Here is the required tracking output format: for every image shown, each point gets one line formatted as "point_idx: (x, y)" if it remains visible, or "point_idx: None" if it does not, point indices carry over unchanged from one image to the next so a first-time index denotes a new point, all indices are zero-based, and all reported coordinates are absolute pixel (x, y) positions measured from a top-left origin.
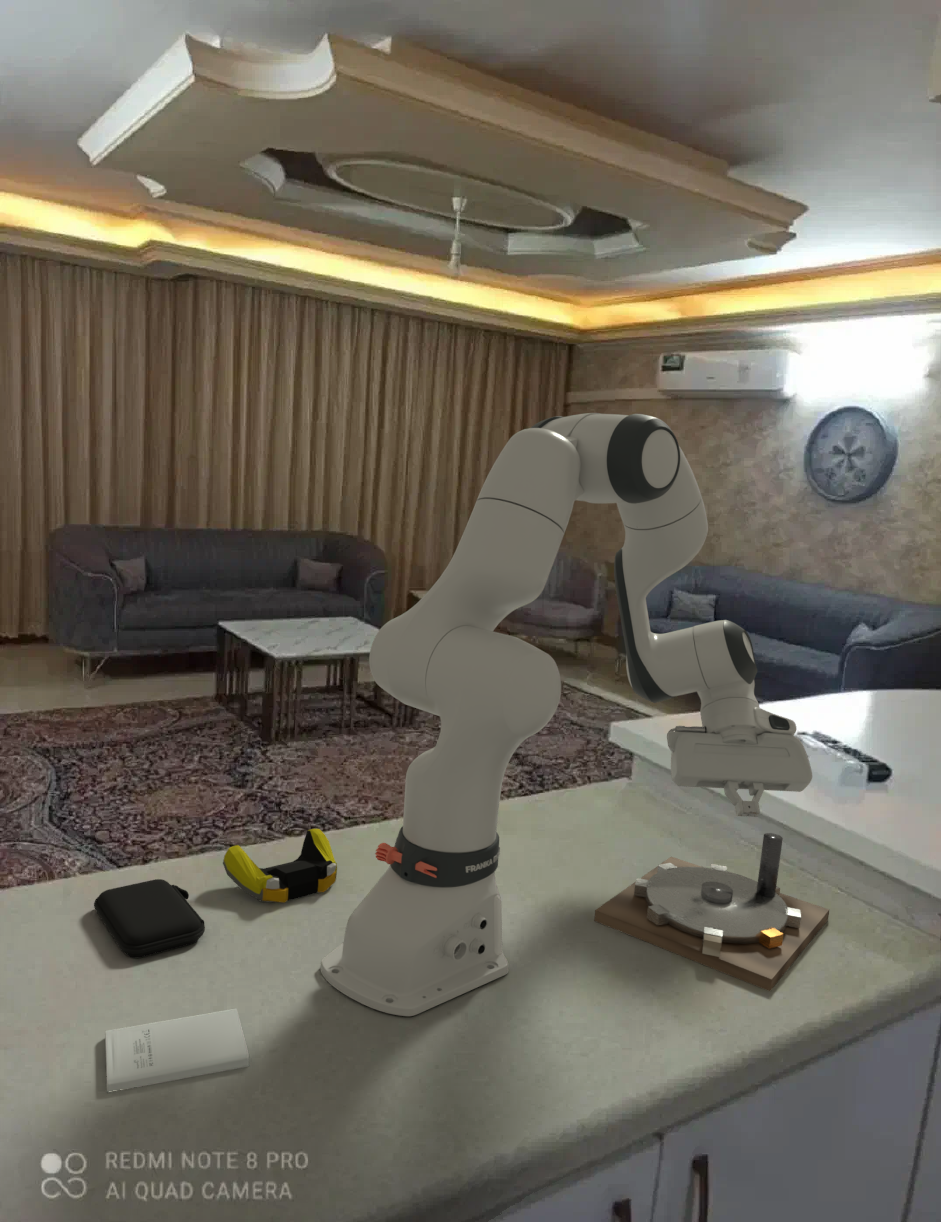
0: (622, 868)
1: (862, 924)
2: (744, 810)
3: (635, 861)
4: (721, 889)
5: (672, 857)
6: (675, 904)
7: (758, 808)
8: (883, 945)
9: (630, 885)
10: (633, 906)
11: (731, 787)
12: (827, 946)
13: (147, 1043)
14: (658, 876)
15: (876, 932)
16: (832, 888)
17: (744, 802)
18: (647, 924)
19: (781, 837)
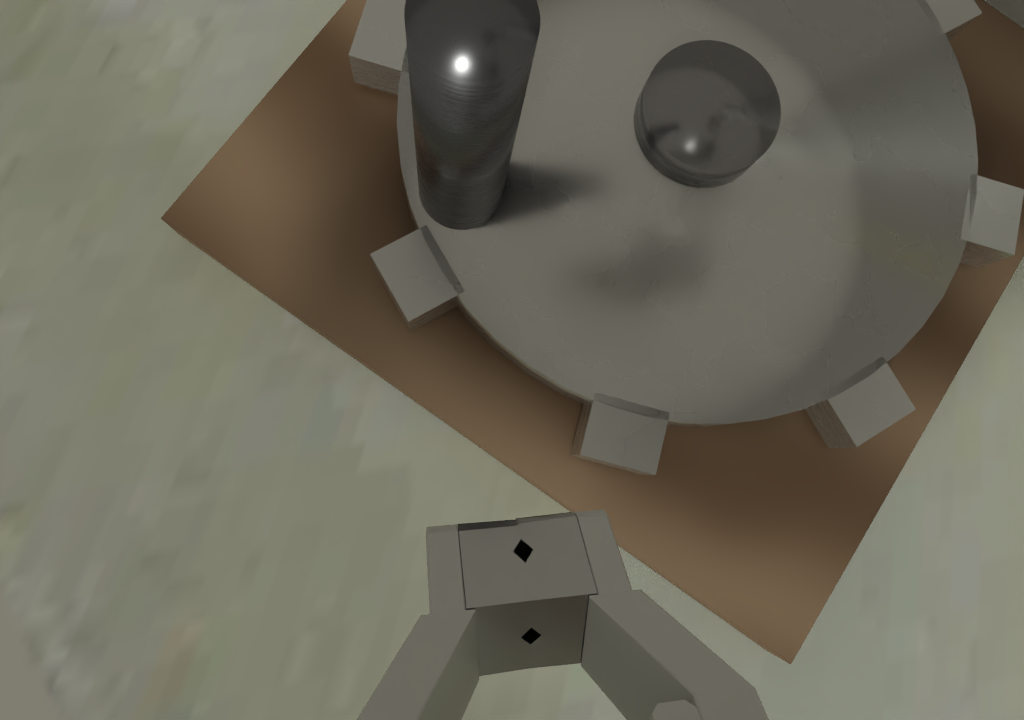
0: (976, 577)
1: (33, 218)
2: (568, 514)
3: (918, 669)
4: (695, 99)
5: (785, 653)
6: (875, 42)
7: (435, 551)
8: (28, 60)
9: (990, 312)
10: (984, 138)
11: (737, 703)
12: (272, 32)
13: None
14: (922, 286)
15: (2, 158)
16: (9, 561)
17: (571, 579)
18: None
19: (409, 14)
